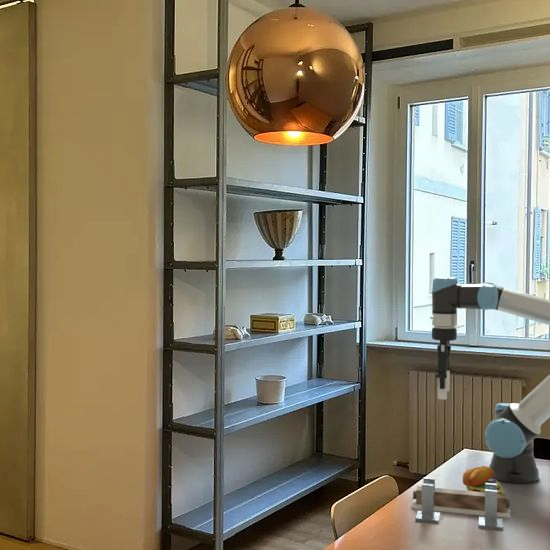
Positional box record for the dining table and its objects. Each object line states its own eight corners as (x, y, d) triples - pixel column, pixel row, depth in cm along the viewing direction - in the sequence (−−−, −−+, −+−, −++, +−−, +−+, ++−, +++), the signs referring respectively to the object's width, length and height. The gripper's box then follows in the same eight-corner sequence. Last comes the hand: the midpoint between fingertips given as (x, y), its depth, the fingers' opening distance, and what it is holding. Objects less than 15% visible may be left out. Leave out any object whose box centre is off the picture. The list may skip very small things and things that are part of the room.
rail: (509, 509, 200) (509, 494, 199) (509, 513, 196) (510, 498, 196) (413, 499, 207) (414, 485, 207) (412, 503, 204) (412, 489, 204)
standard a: (440, 515, 197) (440, 478, 196) (438, 523, 190) (438, 486, 190) (417, 512, 198) (418, 476, 198) (415, 521, 192) (415, 484, 192)
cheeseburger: (507, 503, 205) (498, 469, 205) (469, 510, 207) (460, 476, 207) (503, 491, 215) (495, 458, 215) (467, 497, 217) (459, 465, 217)
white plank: (509, 509, 201) (509, 507, 201) (510, 518, 194) (510, 516, 194) (414, 500, 209) (414, 497, 209) (411, 508, 202) (411, 506, 202)
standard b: (502, 521, 192) (503, 484, 192) (502, 530, 186) (503, 492, 185) (479, 519, 194) (479, 482, 193) (478, 528, 187) (478, 489, 187)
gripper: (435, 322, 238) (434, 386, 239) (428, 330, 214) (428, 402, 215) (458, 323, 236) (458, 388, 237) (454, 331, 212) (454, 403, 213)
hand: (443, 395), depth 226 cm, fingers open, 13 cm apart
